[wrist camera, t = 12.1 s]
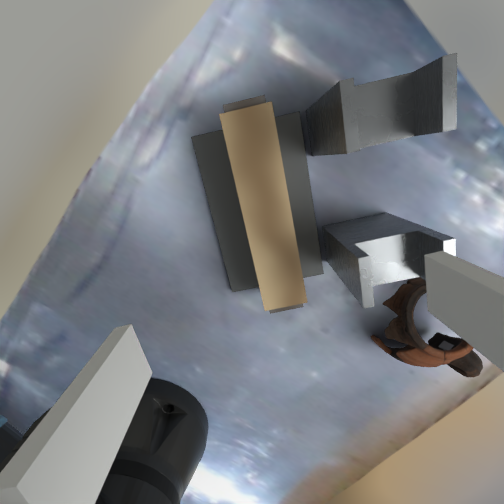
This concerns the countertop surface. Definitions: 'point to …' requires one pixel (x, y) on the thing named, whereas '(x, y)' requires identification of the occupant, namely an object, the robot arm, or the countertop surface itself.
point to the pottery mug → (417, 350)
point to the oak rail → (264, 201)
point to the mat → (229, 210)
